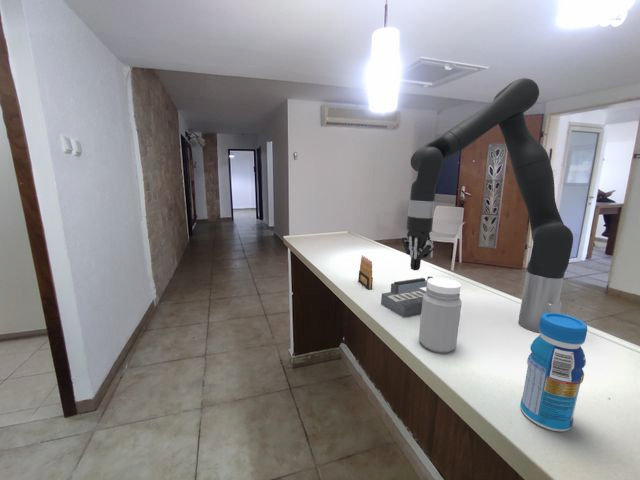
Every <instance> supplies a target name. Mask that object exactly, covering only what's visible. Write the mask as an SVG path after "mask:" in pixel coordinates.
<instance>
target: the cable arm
mask: <svg viewBox="0 0 640 480" xmlns="http://www.w3.org/2000/svg"><path fill="white" fill-rule="evenodd" d="M426 287H427V279H426V278H424V277H419V278H414V279H405V280H399V281H394V282H393V283H391V284H390V292H392V293H394V294H398V291H404V290H410V289H416V288H420V289H422V288H426Z"/></svg>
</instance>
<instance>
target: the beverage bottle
mask: <svg viewBox="0 0 640 480" xmlns="http://www.w3.org/2000/svg"><path fill="white" fill-rule="evenodd" d="M538 333H540V334H539V335H538V336H537V337H535V339H534V340H533V341H532V342H531V344H530V351H531V353H530V354H529V355H528V357H527V360H526V364H527V368H526V369H527V370H526V375H525V379H524V386H523V393H522V396H521V398H520V399H521V400H520V404H519V405H520V409H521V411H522V413H523V415H524V416H525V417H526V418H527V419H529V420H530V422H532V423H534V424H536V425H538V426H539V427H542V428H544V429H546V430H549V431H554V432H567V431H569V430H571V429H572V426H573V422H574V414H575V410H576V405H577V401H578V396H579V392H580V388H581V384H582V383H583V382H584V379H585V372H584V370H583V368H585V366H586V365H587V359H586V354H585V352H584V350H583V348H582V347H581V346H583V344H584V343H585V342H586V338H587V333H588V324H586V323H585V322H584V321H582V320H581V319H579V318H577V317H574V316H572V315H571V316H570V315H567V314H562V313H560V314H559V313H544V314H542V316H541V319H540V324H539V332H538Z"/></svg>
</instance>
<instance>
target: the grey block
mask: <svg viewBox="0 0 640 480" xmlns="http://www.w3.org/2000/svg"><path fill="white" fill-rule="evenodd" d="M430 278H434V277H433V276H430V275H429V276H427V279H426V280H427V281H428V279H430ZM425 288H426V289H425V290H424V289H422V288H416V289H410V290H404V291H398V294H394V293H392V292H391V291H389V292H382V293H381V297H380V298H381V299H380V300H381V301H380V305H381V306H384V307H385V308H386V309H389V310H390V311H392V312H393V313H395V314H396V315H398V316H400V317H401V316H402V318H403V319H405V318H409V317H414V316H418V315H421V311H422V302H423V296H424V294H425V293H426V290H427V287H425Z"/></svg>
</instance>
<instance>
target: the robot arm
mask: <svg viewBox="0 0 640 480" xmlns="http://www.w3.org/2000/svg"><path fill="white" fill-rule="evenodd" d="M539 96H540V89H539V85H538V83H536V81H535V80H533V79H531V78H526V77H524V78H523V77H522V78H519V79H516V80H513V81H512V82H510V83H509V84H508V85H507V86H505V87H504V88H502V89H501V90H500V91H499V92H497V94H496V95H495V96H494V98H493V100H492V101H491V102H490V103H488V104H487V105H485V106H484V107H483V108H481V109H480V110H477V112H475V113H473V114H472V115H470V116H469V117H467V118H465V119H464V120H462V121H460V122H459V123H458V124H456V125H455V126H453V127H452V128H450V129H449V130H447V131H446V132H444V133H443V134H442V135H441V136H439V137H438V138H435V139H434V140H432V141H430V142H428V143H427V144H425V145H423V146H421V147H420V148H418V149H417V150H416V151H415V152H413V154H412V155H411V157H410V166H411V168H412V169H413V171H415V172H417V176H416V179H415V180H414V181H413V182H412V183H411V186H410V198H409V204H408V209H407V220H406V230H407V231H408V232H407V233H406V236H405V237H402V238H401V242H402V244H403V247H404V250H405V253H406V255H408V256H409V257H410V265H409V266H410V269H411V270H413V271H419V270H420V268H421V264H422V263H421V261H422V259H427V257H428V256H429V255H430V254H431V253H432V252H433V251H434V249H435V248H436V244H432V241H430V240H431V236H430V233H431V232H432V230H433V222H434V214H435V200H436V199H435V197H436V188H437V184H438V181H439V179H440V176H441V173H442V170H443V164H444V160H445V159H447V158H451V157H453V156H454V155H457V154H459V152H461V151H463V150H464V149H466V148H468V147H469V146H471V144H473V143H474V142H476V141H477V140H479V138H481V137H482V136H483V135H484V134H486V133H487V132H489V131H491V130H492V129H493V128H495V127H496V126H497V125H498V126H499V129H500V131H501V134H502V137H503V139H504V142H505V146H506V149H507V152H508V155H509V159H510V163H511V166H512V171H513V175H514V178H515V181H516V184H517V187H518V189H519V193H520V195H521V197H522V199H523V202H524V203H525V207H526V209H527V213H528V214H527V215H528V218H529V223H530V232H531V234H530V235H531V239H532V248H531V252H530V258H529V261H528V264H527V268H526V273H525V274H526V275H525V280H524V285H523V291H522V296H521V303H520V308H519V315H518V324H519V326H521V327H523V328H524V329H526V330H529V331H532V332H534V333H535V332H536V333H540V332H539V324H540V319H541V316H542V314H544V313H559V314H561V312H562V311H561V310H562V305H563V301H561V299H560V298H561V293H562V287H563V283H564V277H565V273H566V271H567V269H568V266H569V264H570V263H569V262H570V259H571V254H572V248H573V245H574V244H573V243H574V235H573V234H574V233H573V232H572V230H571V228H569V227H568V226H567V225H565V224H564V221H563V219H562V217H561V215H560V212H559V209H558V206H557V202H556V194H555V193H556V191H555V189H556V188H555V178H554V173H553V167H552V162H551V160H550V157H549V153H548V151H547V150H546V149H545V147H544V146H543V145H542V144H541V143H540V142H539V141H538V140H537V139H536V138H535V137H534V136H533V135H532V134H531V133H530V131H529V129H528V126H527V121H526V118H525V114H524V113H525V112H527V111H528V110H529V109H531V108H532V107H534V105H535V104H536V103H537V101H538V98H539Z"/></svg>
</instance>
